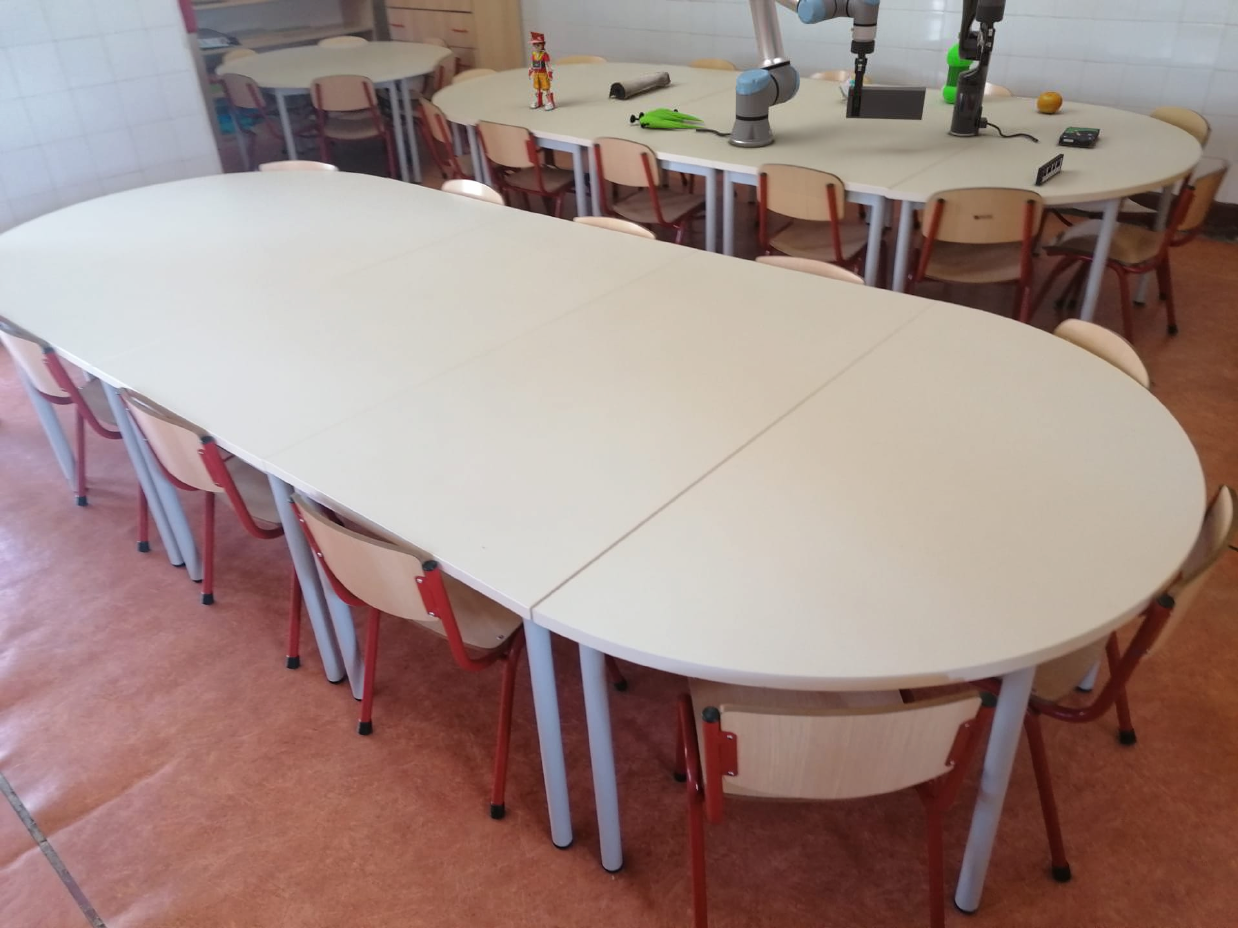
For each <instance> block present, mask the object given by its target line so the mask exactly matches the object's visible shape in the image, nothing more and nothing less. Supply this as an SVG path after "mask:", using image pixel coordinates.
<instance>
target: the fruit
mask: <svg viewBox="0 0 1238 928" xmlns="http://www.w3.org/2000/svg"><path fill="white" fill-rule="evenodd" d="M1063 102H1064V101H1063V97H1062V95H1061V94H1060V93H1058V92H1056V91H1046V92H1043V93H1042V94H1041V95H1039V97H1038V99H1037V101H1036V108H1037V110H1038V111H1040V112H1041V113H1044V114H1053V113H1056V112H1058V111H1059V110H1060V109H1061V107H1062V106H1063Z"/></svg>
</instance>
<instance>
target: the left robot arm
mask: <svg viewBox="0 0 1238 928" xmlns="http://www.w3.org/2000/svg"><path fill="white" fill-rule="evenodd" d="M748 2H749V7H750V13H751V19H752V23H753V28H754V35H755V39H756V45H757V50H758V55H759V60H760V61H759V62H760V63H759V65H758V66H757V69H755V68H754V69H750V70H745V71H743V72H741V73H740V74H739V75H738V76H737V77H736V85H735V120H734V123H733V126H732V130H731V132H723V133H722V132H720V131H717V130H716V129H715V130H714V129H710V128H695V132H709V133H714V134H716V135H718V136H721V137H727V136H729V143H730V144H731V145H732V146H736V147H740V148H761V147H765V146H768V145H770V144H772V143H773V138H774V135H773V130H772V128H771V125H770V121H769V115H770V114H769V112H770V111H769V110H770V107H773V106H777V105H780V104H785V103H787V102H788V101H791V100H793V99H794V98H795V97H796V96H797V94H798V92H799V89H800V85H801V78H800V75H799V71H798V70H797V69H796V67H794V66H792V64H791V60H790V58H788V57H787V56H786V55H785V50H784V44H783V38H782V34H781V28H780V22H779V16H778V11H777V5H776V3H777V4H779V5H781V6H783V7H785V8H786V9H788V10H790V11H792V12H794V13H795V14H797V17H798V18H799V21H800V22H801V23H803V24H804V25H815V24H818V23H821V22H824V21H828V20H833V19H838V18H848V19H853V21H852V27H851V28H850V32H852V34H851V38H852V40H851V42H850V50H849V51H850V53H851V54H853V55H857V57H855V58H854V72H853V73H854V74H855V75H854V81H855V83H854V84H853V86H854V93H853V95H851V96H852V97H853V100H852V110H851V117H859V113H860V104H861V90H862V86H864V76H865V74H866V70H867V65H868V60H869V59H868V57H867V56H866V55H871V54H873V53H874V52H875V47H876V46H875V45H876V40H875V39H877V38H876V37H877V31H878V17H879V11H880V3H881V0H748Z"/></svg>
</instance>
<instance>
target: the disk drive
mask: <svg viewBox="0 0 1238 928" xmlns="http://www.w3.org/2000/svg"><path fill="white" fill-rule="evenodd" d="M1100 131H1101V129H1100V128H1092V127H1077V126H1067V127H1066V128H1065V130H1064V131H1063V132H1062V133H1061V135H1060V136H1059V139H1058V143H1057V144H1058V145H1061V146H1071V147H1079V148H1080V147H1081V148H1092V147H1093V145H1094V143H1095V142H1096V141H1097V139H1098V137H1099V135H1100Z"/></svg>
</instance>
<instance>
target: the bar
mask: <svg viewBox="0 0 1238 928" xmlns="http://www.w3.org/2000/svg"><path fill="white" fill-rule="evenodd" d="M853 93H854V85H853V86H849V90H848V98H847V101H846V111H845V119H860V120H861V119H865V120H866V119H867V120H868V119H869V120H902V121H903V120H905V121H922V120H923V114H924V107H925V100H926V93H927V87H926V86H882V85H881V86H876V85H875V86H874V85H863V86H862V90H861V104H860V113H859V117H851V110H852V100H853V97H852V96H851V95H853Z"/></svg>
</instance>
